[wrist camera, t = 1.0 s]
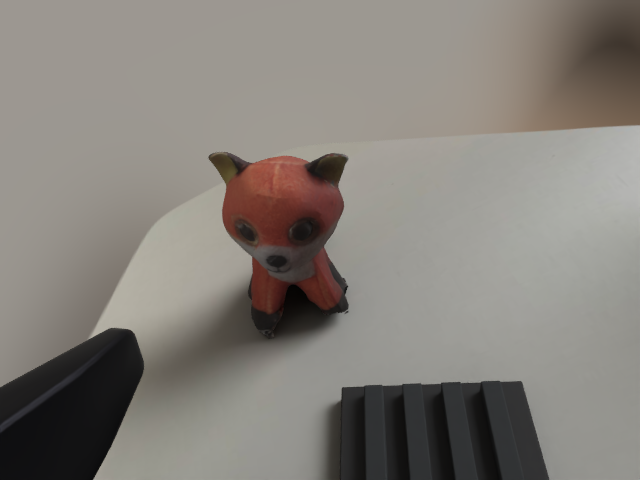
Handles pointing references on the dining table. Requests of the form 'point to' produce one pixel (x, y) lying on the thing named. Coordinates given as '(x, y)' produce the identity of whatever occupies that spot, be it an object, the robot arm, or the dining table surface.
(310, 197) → the stuffed fox
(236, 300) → the dining table surface
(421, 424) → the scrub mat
